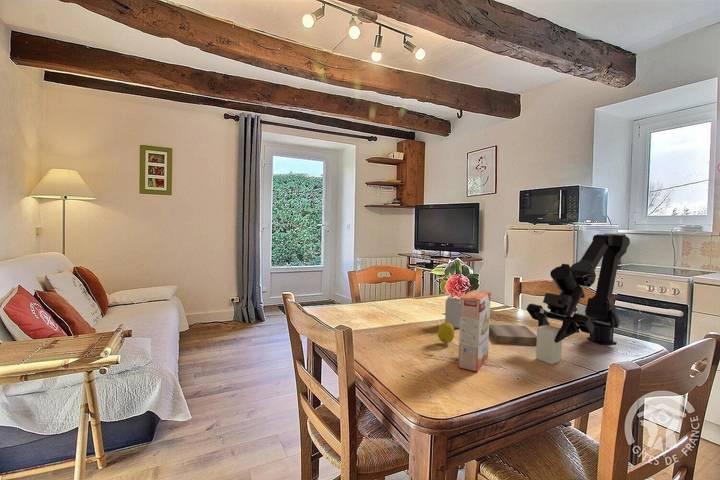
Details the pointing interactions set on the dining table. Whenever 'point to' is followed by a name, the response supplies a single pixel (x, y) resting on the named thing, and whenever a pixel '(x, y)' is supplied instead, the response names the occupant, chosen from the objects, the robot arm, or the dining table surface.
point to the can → (453, 311)
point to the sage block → (548, 344)
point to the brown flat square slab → (512, 334)
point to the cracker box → (474, 329)
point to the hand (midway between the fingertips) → (546, 339)
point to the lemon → (446, 332)
